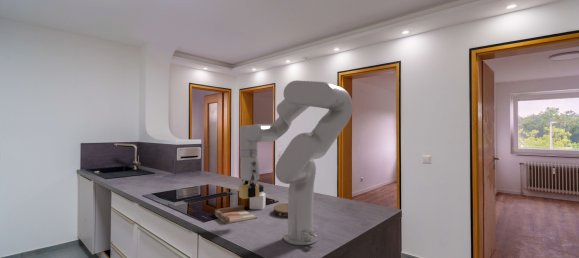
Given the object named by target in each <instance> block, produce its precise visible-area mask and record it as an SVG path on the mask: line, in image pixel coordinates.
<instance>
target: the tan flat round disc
mask: <svg viewBox="0 0 579 258" xmlns="http://www.w3.org/2000/svg"><path fill="white" fill-rule="evenodd" d="M273 215H274V216H276V217H279V218H283V219H284V218H287V219H288V202H287V203H280V204H275V205H274V206H273Z"/></svg>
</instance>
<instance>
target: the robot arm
mask: <svg viewBox="0 0 579 258" xmlns="http://www.w3.org/2000/svg"><path fill="white" fill-rule="evenodd" d="M283 98H284V99H283V100H282V101H281V102H280V103H278V104H277V106H276V113H277V115H278V117H277V118H276V119H275V120H274V121H273V122H272V123H270V124H266V123H265V124H263V123H256V124H250V125H248V124H247V125H246V124H245V125H241V126H239V158H240V166H239V167H240V169H239V170H240V171H239V175H240V179H241V181H242V185H248V184H249V188H248V197H249V198H248V199H250V197H255V196H256V194H255V187H256V184H258V182H259V180H260V164H259V159H258V143H267V142H268V143H269V142H270V143H271V142H274V141H277V140H278V139H279V138H281V137H283V136H284V134H286V133H287V132H288V130H289V129H290V127H291V125H292V122H293V121H294V120H296V118H297V117H299V116H300V115H301V114H302V113H304V112H305V111H306V110H307V109H308V108H311V107H313V108H321V109H325V110H326V109H327V112H326V113H325V114H324V115H323V116H322V117H321V118H320V119H319V121H318V122H317V124H316V125H315V126H314V128H313V129H312V131H310V132H301V133H299V134H297V135H296V136H294V137H293V138H292V139H291V141H289V143H288V144H287V147H286V148H285V149H284V151H283V153H282V155H281V156H280V157H279V158H278V161H277V162H276V165H275V170H274V171H275V176H276V178H277V179H278V181H279V182H281V183H282V184H286V185H287V184H288V185H289V186H288V190H287V191H288V193H287V194H288V197H287V203H288V218H287V232H285V233H284V235H283V239H284V241H285V242H286V243H287V244H290V245H295V246H308V245H309V246H310V245H312V244H314V243H316V242H317V241H318V239H319V236H318V235H317V234H316V233H315V228H314V192H315V191H314V186H315V179H316V174H317V173H316V172H317V171H316V170H317V167H316V162H315V160H316V159H320V158H323V157H324V156H325V155H326V154H327V152H328V151H329V150H330V148H331V147H332V145H333V144H334V143H335V141H336V140H337V138H338V137H339V135H340V134H341V133H342V131H343V130H344V128H346V126H347V124H348V123H349V121H350V119H351V117H352V115H353V111H354V110H353V109H354V103H353V99H352V98H351V95H350V94H349V92H348V91H347V90H346V89H345V88H343V87H341V86H339V85H336V84H332V83H330V82H329V83H328V82H327V81H326V82H325V81H316V80H314V81H312V80H311V81H310V80H292V81H290V82H288V83H287V84H286V85H285V87H284V88H283Z"/></svg>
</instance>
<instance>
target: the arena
mask: <svg viewBox="0 0 579 258" xmlns="http://www.w3.org/2000/svg"><path fill="white" fill-rule="evenodd" d="M213 211H214V213H213V214H214V215H215V217H217V218H218V219H219V220H220V221H222V222H223V223H225V224H226V225H228V224H234V223H239V222H243V221H244V222H245V221H248V220H249V221H250V220H254V219H258V217H257V216H256V215H254V214H253V213H250V212H249V211H247V210H245V205H243V204H242V205H235V206H229V207H223V208H216V209H214V210H213Z"/></svg>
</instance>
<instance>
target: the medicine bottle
mask: <svg viewBox="0 0 579 258" xmlns="http://www.w3.org/2000/svg"><path fill="white" fill-rule="evenodd" d="M257 185H259V197H254V198H249V209H250V210H264V208H265V207H266V192H264V188H265V187H264V185H263V184H258V183H257Z"/></svg>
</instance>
